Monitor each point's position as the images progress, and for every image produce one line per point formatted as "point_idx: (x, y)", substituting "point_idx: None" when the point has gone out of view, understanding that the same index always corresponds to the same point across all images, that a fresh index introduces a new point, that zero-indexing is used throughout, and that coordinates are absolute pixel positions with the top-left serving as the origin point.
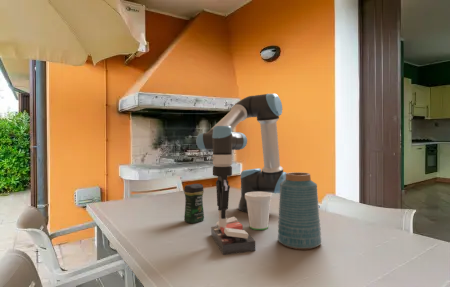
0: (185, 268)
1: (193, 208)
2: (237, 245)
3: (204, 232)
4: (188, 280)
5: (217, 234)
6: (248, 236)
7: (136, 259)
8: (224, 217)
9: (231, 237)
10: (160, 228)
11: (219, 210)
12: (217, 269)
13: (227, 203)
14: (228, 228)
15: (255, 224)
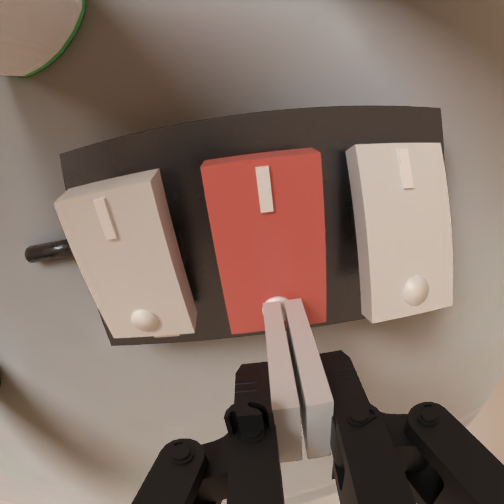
0: (446, 393)
1: None
2: None
3: (90, 344)
4: (498, 372)
5: None
6: (358, 120)
7: (333, 492)
8: (350, 366)
9: (350, 243)
10: (74, 462)
11: (325, 452)
12: (495, 306)
13: (486, 458)
14: (383, 293)
15: (55, 31)
